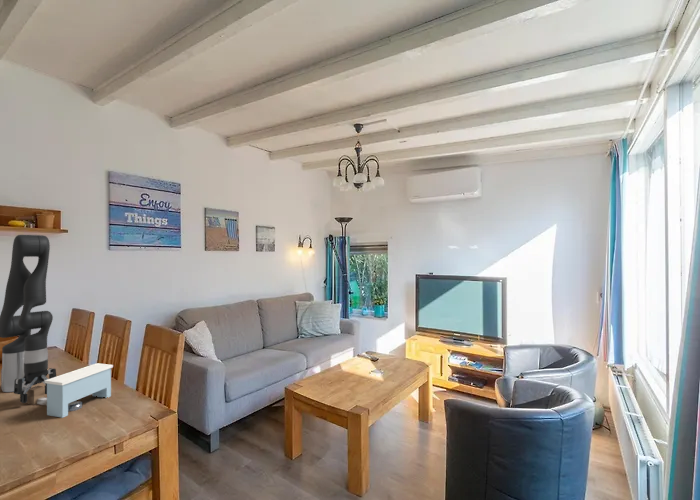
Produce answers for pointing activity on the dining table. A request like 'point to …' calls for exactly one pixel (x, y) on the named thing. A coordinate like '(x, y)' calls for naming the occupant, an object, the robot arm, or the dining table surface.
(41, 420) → the dining table surface
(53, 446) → the dining table surface
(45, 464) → the dining table surface
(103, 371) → the bench
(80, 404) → the token
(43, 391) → the wooden cube mallet
